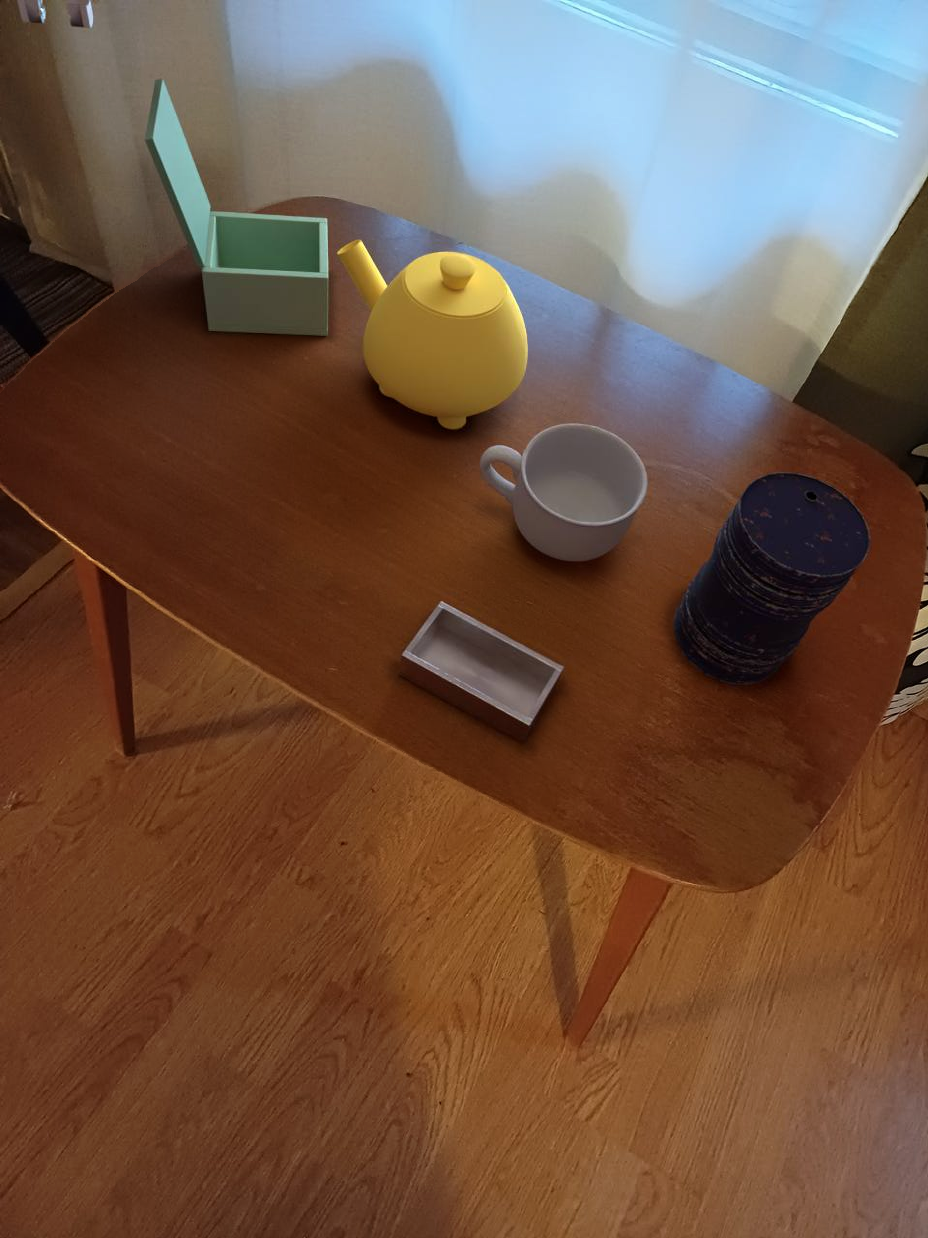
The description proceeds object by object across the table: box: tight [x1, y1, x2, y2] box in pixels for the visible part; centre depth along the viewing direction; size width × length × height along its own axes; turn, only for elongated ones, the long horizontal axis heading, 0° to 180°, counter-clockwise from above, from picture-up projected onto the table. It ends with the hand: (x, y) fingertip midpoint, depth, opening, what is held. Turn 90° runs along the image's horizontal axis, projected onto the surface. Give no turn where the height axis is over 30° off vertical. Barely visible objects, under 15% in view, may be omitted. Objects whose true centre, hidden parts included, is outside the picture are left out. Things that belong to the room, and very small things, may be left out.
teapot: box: [336, 238, 529, 430], centre depth 86 cm, size 20×16×14 cm
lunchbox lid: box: [144, 78, 211, 269], centre depth 83 cm, size 12×10×1 cm
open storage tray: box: [398, 601, 565, 744], centre depth 72 cm, size 11×6×3 cm, turn 61°
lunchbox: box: [201, 210, 329, 337], centre depth 92 cm, size 12×10×7 cm
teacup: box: [478, 423, 649, 562], centre depth 80 cm, size 14×11×8 cm
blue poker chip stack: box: [673, 471, 871, 686], centre depth 72 cm, size 10×10×15 cm
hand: (58, 21), depth 72 cm, fingers closed
